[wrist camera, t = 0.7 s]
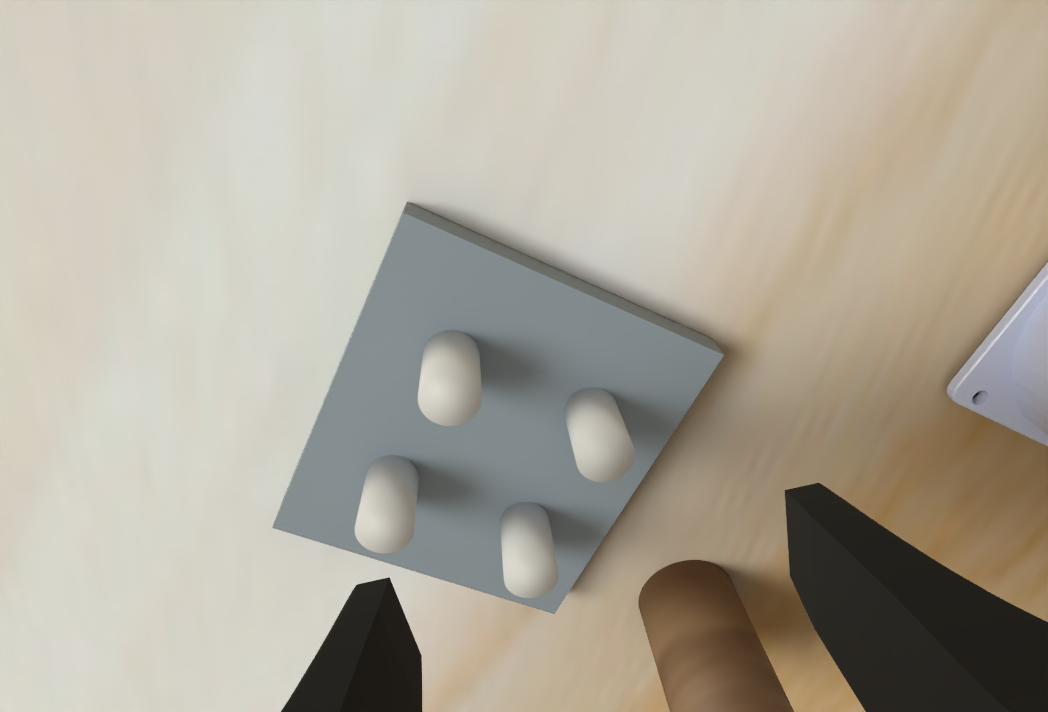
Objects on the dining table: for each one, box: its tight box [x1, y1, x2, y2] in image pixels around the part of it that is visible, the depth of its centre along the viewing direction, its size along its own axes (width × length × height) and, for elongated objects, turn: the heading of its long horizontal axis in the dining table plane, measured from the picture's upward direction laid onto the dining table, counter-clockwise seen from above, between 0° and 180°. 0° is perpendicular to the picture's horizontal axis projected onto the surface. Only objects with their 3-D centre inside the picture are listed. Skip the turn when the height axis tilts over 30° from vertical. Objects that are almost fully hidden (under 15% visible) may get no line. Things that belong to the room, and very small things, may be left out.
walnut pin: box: [639, 560, 794, 712], centre depth 23 cm, size 4×4×6 cm
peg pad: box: [272, 202, 724, 614], centre depth 20 cm, size 10×11×4 cm
